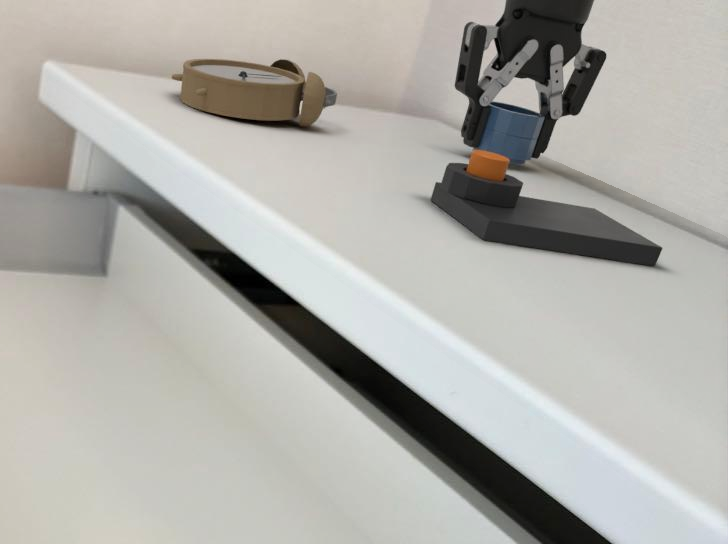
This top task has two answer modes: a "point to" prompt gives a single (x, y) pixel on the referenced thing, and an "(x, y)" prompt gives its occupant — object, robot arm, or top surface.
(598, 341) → the top surface
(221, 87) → the alarm clock
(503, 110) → the cup
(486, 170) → the button
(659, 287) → the top surface
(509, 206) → the scale
